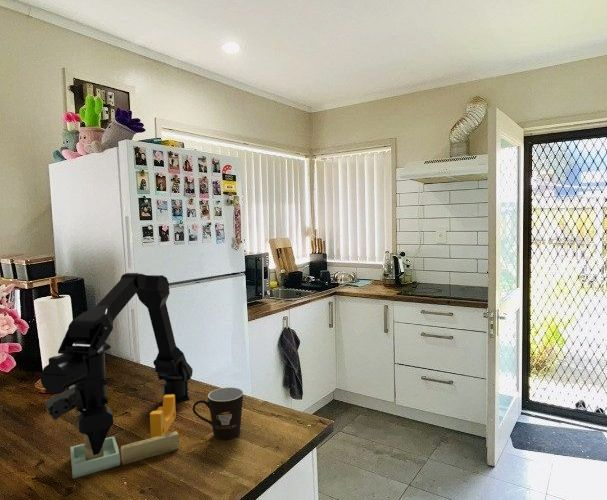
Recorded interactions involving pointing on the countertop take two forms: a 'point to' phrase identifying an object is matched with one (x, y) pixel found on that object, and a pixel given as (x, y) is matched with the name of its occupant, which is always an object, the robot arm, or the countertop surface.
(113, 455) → the tray
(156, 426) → the pipe clamp
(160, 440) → the bar
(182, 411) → the countertop surface
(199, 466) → the countertop surface
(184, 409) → the countertop surface
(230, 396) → the coffee mug
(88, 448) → the oak dowel
